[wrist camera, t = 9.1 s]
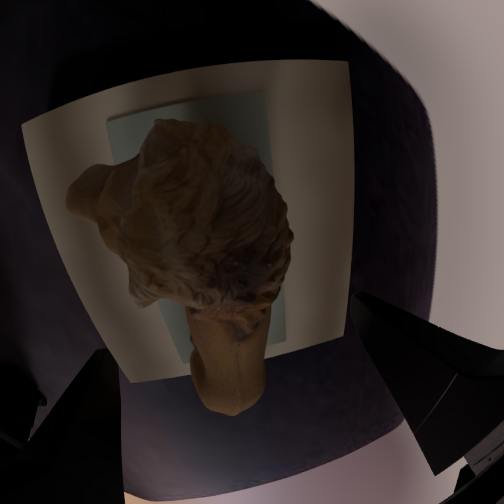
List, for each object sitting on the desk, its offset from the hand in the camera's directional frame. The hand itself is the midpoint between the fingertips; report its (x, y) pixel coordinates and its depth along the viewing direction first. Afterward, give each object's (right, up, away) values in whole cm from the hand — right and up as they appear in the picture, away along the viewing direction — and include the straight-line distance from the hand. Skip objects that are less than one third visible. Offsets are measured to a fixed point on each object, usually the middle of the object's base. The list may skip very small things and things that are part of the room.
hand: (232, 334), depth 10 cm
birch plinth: (-2, +4, +8) cm, 9 cm away
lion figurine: (-2, +3, +5) cm, 6 cm away
